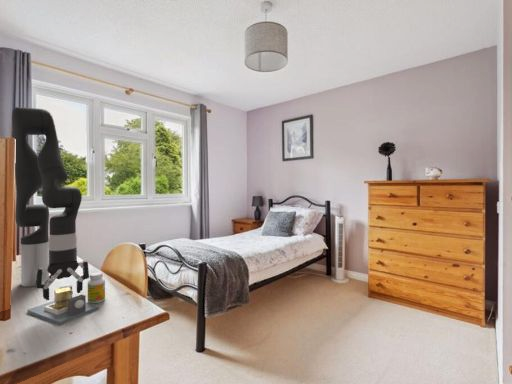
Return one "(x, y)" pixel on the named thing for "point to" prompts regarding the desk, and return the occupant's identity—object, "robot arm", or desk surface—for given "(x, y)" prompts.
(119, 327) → the desk surface
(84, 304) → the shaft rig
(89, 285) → the supplement bottle
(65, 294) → the tan rectangular block
